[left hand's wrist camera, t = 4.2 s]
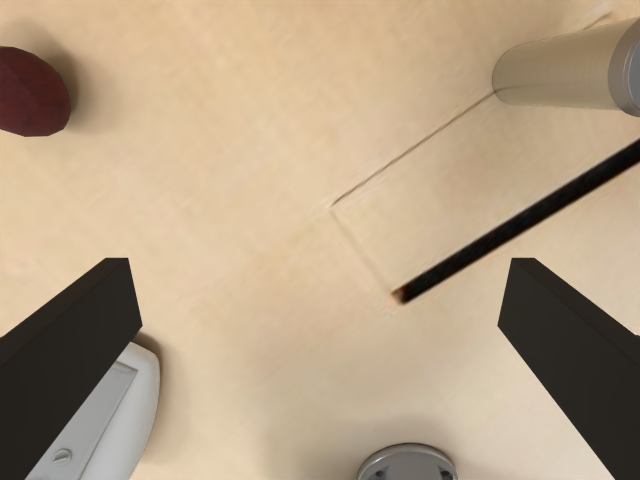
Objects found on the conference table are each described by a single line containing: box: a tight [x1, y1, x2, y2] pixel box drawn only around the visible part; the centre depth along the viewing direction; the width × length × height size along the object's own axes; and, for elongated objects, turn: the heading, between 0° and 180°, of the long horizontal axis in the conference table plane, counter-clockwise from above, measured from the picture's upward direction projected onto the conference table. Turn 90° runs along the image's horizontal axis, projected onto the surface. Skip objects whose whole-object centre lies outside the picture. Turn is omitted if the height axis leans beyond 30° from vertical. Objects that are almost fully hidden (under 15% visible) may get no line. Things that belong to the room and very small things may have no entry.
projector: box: [25, 342, 160, 480], centre depth 44 cm, size 22×23×15 cm
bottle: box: [492, 17, 640, 110], centre depth 28 cm, size 5×5×17 cm
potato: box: [0, 46, 71, 137], centre depth 33 cm, size 7×8×7 cm
